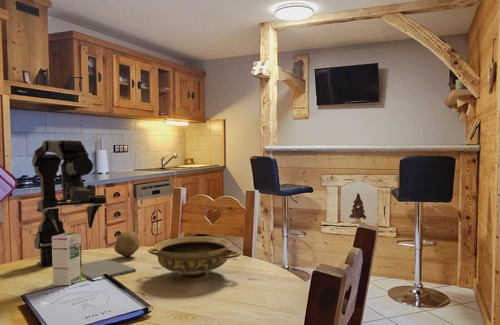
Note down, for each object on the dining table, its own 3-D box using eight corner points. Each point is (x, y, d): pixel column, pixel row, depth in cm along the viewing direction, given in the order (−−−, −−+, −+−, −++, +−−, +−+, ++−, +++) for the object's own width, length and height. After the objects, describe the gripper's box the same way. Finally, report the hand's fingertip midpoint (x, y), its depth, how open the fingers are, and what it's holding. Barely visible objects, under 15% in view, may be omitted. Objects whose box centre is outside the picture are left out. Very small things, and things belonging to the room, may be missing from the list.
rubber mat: (68, 268, 128) (68, 266, 128) (108, 261, 138) (108, 258, 138) (93, 280, 114) (93, 278, 114) (135, 271, 124) (135, 268, 124)
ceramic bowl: (130, 284, 110) (129, 250, 110) (165, 263, 133) (165, 235, 133) (230, 290, 103) (229, 254, 103) (249, 267, 127) (248, 237, 127)
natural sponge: (145, 256, 144) (145, 230, 144) (124, 261, 137) (124, 233, 137) (132, 253, 150) (132, 228, 150) (111, 257, 143) (111, 231, 143)
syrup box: (69, 286, 109) (69, 235, 109) (51, 285, 110) (51, 235, 110) (82, 280, 114) (82, 232, 115) (65, 279, 116) (64, 232, 116)
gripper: (46, 177, 106) (49, 233, 104) (111, 175, 119) (115, 225, 117) (35, 182, 114) (38, 234, 112) (97, 180, 127) (101, 226, 125)
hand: (74, 230), depth 116 cm, fingers open, 9 cm apart
